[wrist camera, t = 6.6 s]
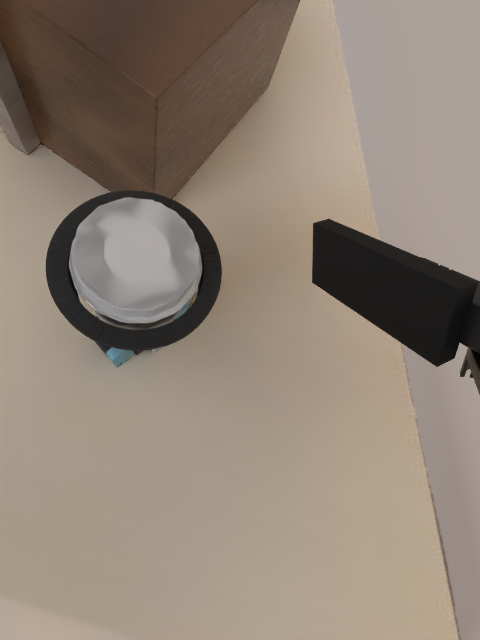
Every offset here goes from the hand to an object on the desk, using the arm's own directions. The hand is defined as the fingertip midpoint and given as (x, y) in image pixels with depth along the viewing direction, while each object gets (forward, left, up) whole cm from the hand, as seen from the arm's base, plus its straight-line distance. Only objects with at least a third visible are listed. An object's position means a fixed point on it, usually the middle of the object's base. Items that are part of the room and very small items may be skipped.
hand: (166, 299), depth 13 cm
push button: (-1, +1, -7) cm, 7 cm away
